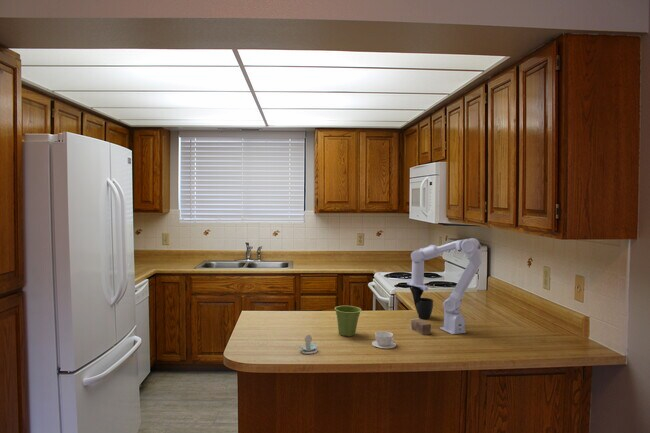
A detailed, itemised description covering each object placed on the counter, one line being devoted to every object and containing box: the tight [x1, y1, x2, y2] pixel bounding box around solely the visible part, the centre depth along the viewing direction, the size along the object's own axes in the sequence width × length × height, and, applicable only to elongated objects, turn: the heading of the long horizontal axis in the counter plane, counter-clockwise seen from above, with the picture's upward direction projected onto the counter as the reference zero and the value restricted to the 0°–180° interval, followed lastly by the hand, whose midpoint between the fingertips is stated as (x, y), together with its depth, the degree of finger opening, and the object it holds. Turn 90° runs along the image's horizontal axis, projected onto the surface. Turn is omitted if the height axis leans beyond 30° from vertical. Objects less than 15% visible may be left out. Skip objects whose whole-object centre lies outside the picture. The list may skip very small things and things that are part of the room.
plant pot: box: [334, 305, 362, 337], centre depth 183 cm, size 12×12×11 cm
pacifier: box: [298, 334, 318, 355], centre depth 161 cm, size 7×6×6 cm
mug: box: [413, 297, 434, 320], centre depth 214 cm, size 8×12×10 cm
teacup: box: [371, 330, 397, 349], centre depth 171 cm, size 10×10×5 cm
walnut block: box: [410, 318, 432, 336], centre depth 190 cm, size 4×4×9 cm
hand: (416, 302), depth 202 cm, fingers closed
